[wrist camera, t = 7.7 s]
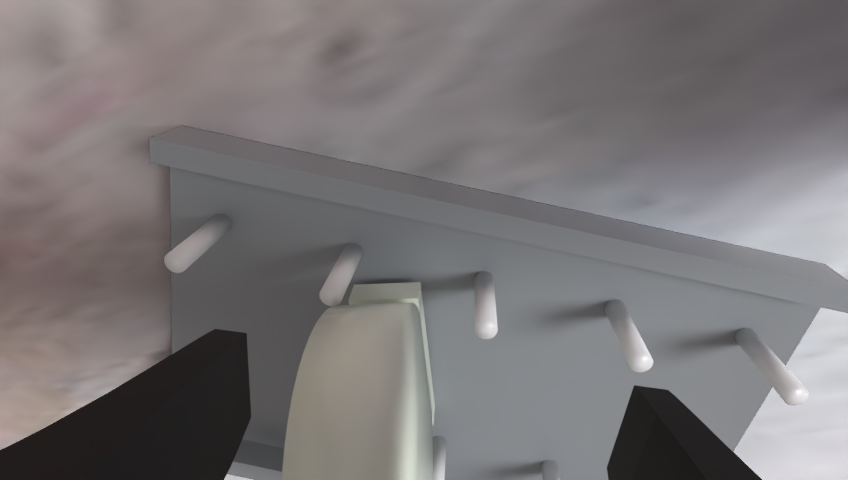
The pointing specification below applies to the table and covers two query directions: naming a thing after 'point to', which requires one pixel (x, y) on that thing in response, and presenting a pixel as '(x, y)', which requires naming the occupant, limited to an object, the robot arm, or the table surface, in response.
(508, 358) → the dish rack
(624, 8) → the table surface
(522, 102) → the table surface
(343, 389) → the plate
